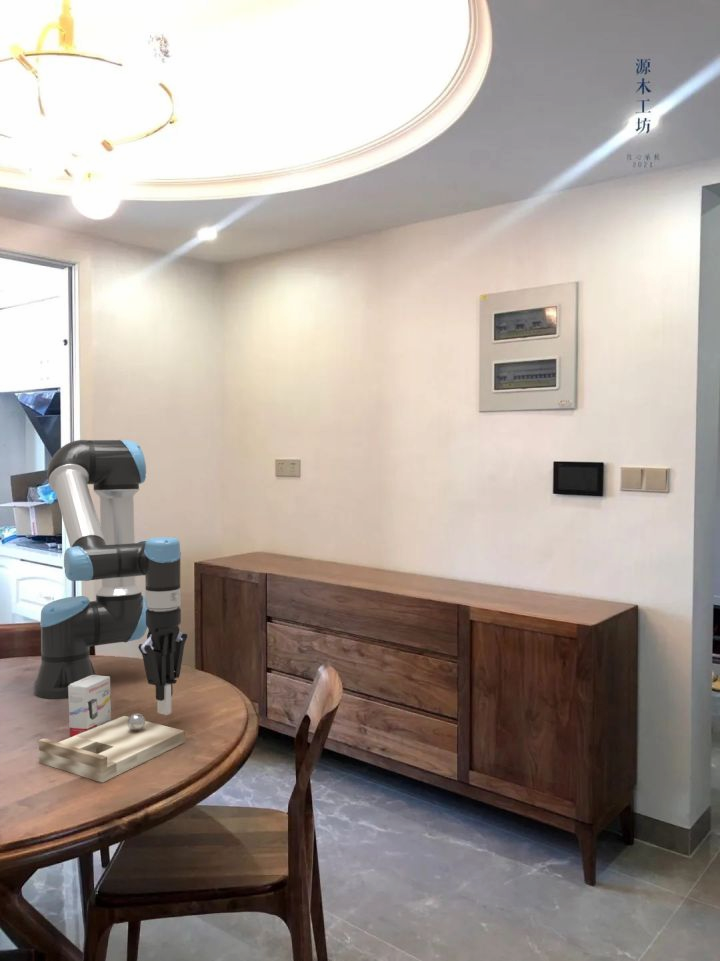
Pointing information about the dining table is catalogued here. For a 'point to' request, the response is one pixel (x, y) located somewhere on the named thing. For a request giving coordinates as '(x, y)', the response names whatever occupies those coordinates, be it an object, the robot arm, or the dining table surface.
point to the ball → (136, 722)
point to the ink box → (89, 703)
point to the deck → (109, 749)
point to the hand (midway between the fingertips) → (164, 712)
